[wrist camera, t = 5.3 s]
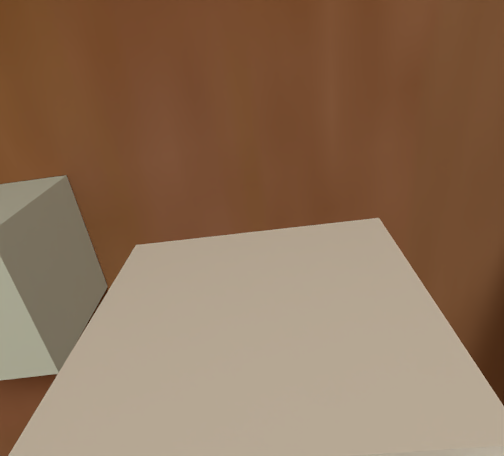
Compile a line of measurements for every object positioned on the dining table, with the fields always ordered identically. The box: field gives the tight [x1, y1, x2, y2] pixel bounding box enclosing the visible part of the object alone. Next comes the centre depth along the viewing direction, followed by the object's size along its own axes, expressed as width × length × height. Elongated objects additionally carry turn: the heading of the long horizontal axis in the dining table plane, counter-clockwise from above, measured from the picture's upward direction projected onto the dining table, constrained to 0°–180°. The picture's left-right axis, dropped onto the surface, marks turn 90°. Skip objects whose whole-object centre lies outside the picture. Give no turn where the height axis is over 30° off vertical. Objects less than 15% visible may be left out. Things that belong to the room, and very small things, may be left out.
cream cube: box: [9, 218, 504, 456], centre depth 9 cm, size 6×6×6 cm
